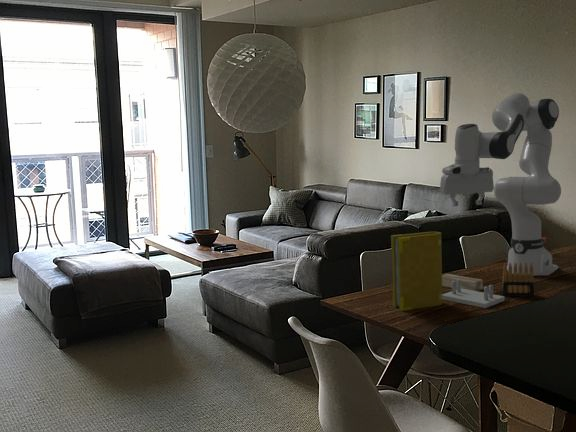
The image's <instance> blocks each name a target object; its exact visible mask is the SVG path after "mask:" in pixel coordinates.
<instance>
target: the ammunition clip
mask: <svg viewBox="0 0 576 432" xmlns="http://www.w3.org/2000/svg"><path fill="white" fill-rule="evenodd" d="M507 266H508V265H507V263H506V262H504V263H503V266H502V267H503V268H502V269H503V271H502V290H501V296H505V297H535V286H534V285H535V281H534V280H535V279H534V274H533V265H532V263H531V264H530V268H529V276H528V267H527V263H525V266H524V275H523V272H522V264H521V263H520V264H519V273H517V265H516V263H515V264H514V271H513V274H512V265H511V263H509V269H508V270H507Z"/></svg>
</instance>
